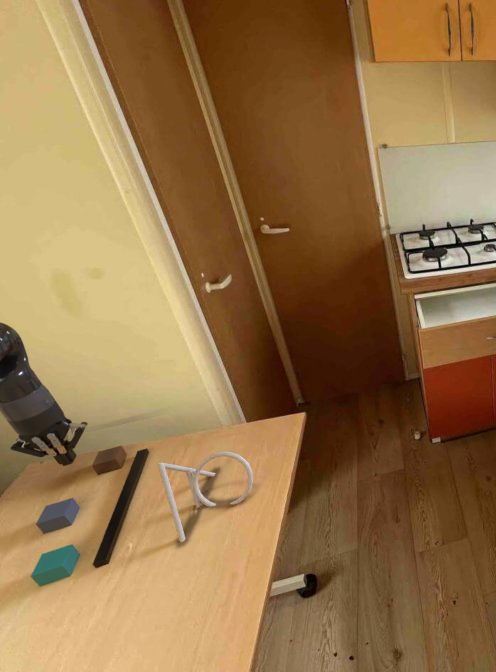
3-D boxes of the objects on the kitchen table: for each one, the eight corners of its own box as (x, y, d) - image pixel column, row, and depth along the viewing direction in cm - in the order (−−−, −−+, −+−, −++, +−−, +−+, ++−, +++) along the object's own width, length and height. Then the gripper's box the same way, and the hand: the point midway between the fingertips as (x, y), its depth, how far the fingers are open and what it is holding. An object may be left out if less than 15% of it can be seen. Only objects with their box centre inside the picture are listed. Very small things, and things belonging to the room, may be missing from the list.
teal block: (42, 590, 79) (30, 576, 77) (53, 567, 83) (41, 553, 81) (73, 579, 81) (62, 565, 79) (83, 557, 85) (72, 543, 82)
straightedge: (98, 571, 82) (92, 564, 81) (141, 457, 106) (137, 450, 105) (111, 567, 83) (105, 559, 82) (151, 455, 107) (147, 448, 106)
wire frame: (279, 492, 103) (245, 526, 87) (224, 510, 102) (180, 548, 86) (259, 422, 103) (221, 443, 88) (204, 439, 102) (156, 463, 86)
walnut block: (100, 478, 101) (91, 465, 99) (106, 464, 104) (98, 451, 102) (123, 471, 103) (115, 458, 100) (129, 458, 106) (121, 445, 104)
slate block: (46, 537, 88) (35, 524, 86) (56, 519, 92) (45, 505, 90) (74, 528, 90) (64, 515, 88) (82, 510, 93) (73, 497, 91)
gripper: (76, 387, 96) (110, 441, 104) (-3, 405, 91) (39, 460, 99) (62, 408, 90) (99, 464, 98) (-23, 429, 85) (24, 485, 93)
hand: (69, 462), depth 99 cm, fingers closed
